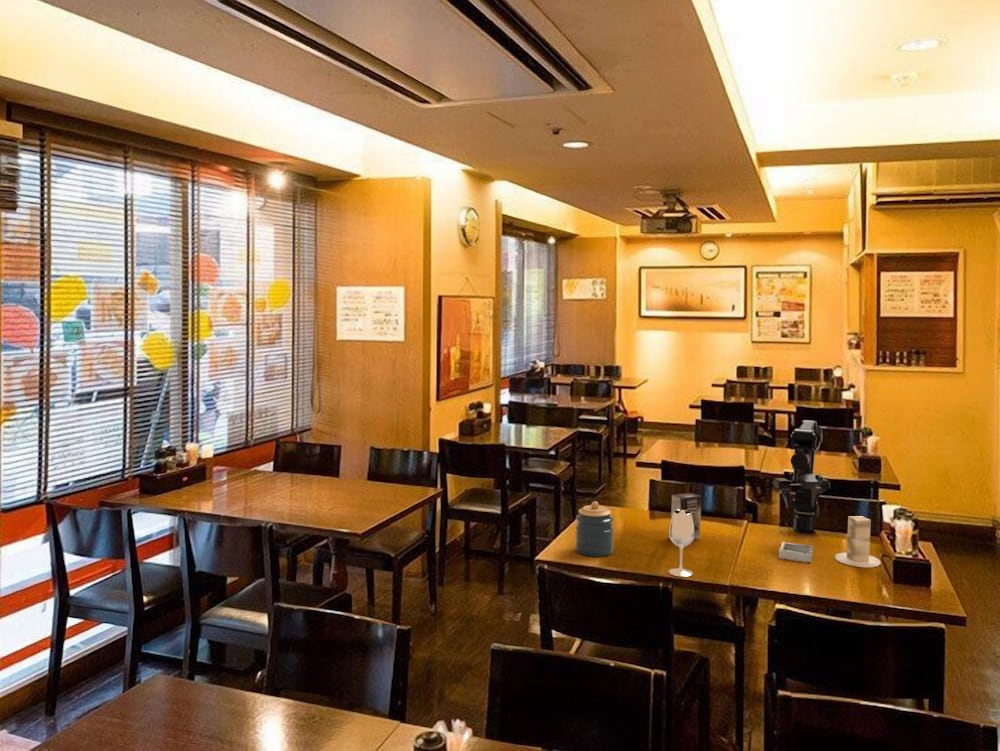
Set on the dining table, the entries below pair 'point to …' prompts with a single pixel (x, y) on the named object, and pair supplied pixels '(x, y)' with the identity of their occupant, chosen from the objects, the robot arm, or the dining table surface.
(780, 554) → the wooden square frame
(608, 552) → the canister
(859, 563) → the plate
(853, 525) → the maple block
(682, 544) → the wineglass
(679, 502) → the coffee box
